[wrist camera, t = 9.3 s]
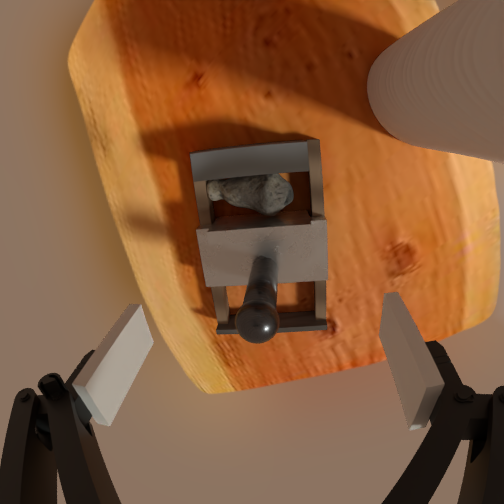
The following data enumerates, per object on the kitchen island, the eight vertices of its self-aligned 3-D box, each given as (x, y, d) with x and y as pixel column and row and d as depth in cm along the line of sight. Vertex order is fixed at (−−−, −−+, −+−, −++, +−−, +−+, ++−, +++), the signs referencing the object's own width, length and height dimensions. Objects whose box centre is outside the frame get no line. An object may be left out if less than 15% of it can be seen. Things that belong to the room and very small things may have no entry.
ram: (203, 218, 43) (154, 275, 26) (322, 209, 41) (347, 263, 24) (212, 274, 46) (176, 352, 29) (324, 267, 44) (344, 347, 27)
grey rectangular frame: (194, 151, 40) (172, 157, 31) (317, 138, 38) (326, 140, 29) (221, 320, 49) (210, 356, 41) (324, 315, 47) (330, 352, 39)
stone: (208, 195, 43) (227, 242, 40) (197, 171, 38) (217, 221, 35) (274, 168, 43) (299, 212, 40) (270, 142, 38) (299, 188, 35)
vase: (460, 67, 31) (634, 41, 2) (448, 158, 36) (633, 228, 7) (369, 33, 31) (503, -92, 2) (356, 131, 37) (530, 148, 8)
